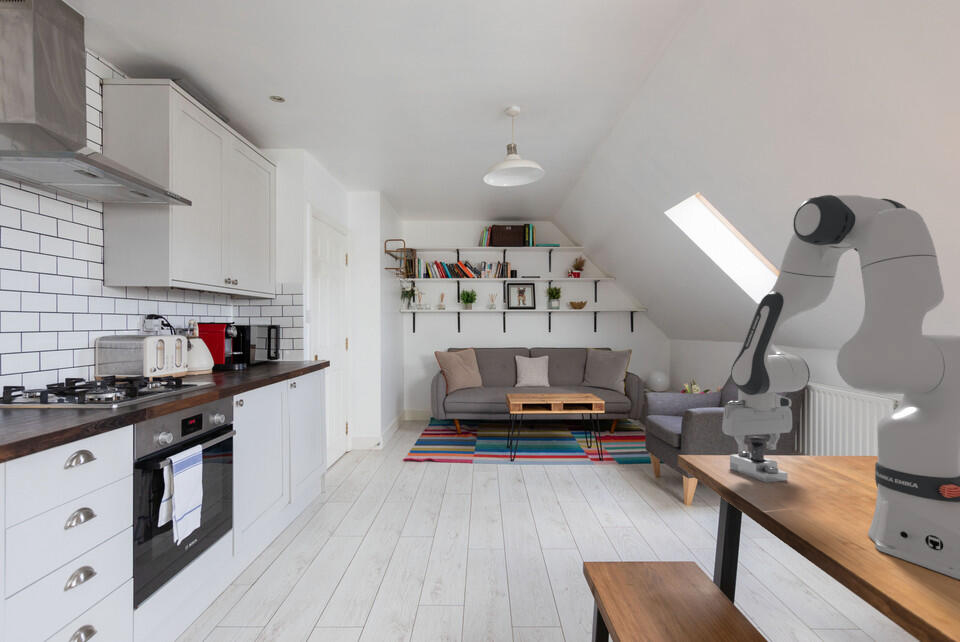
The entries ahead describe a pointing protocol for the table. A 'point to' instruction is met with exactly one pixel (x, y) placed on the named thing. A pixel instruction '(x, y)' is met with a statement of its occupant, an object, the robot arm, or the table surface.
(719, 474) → the table surface
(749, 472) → the slotted ball-knob block
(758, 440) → the pin
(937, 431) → the robot arm
